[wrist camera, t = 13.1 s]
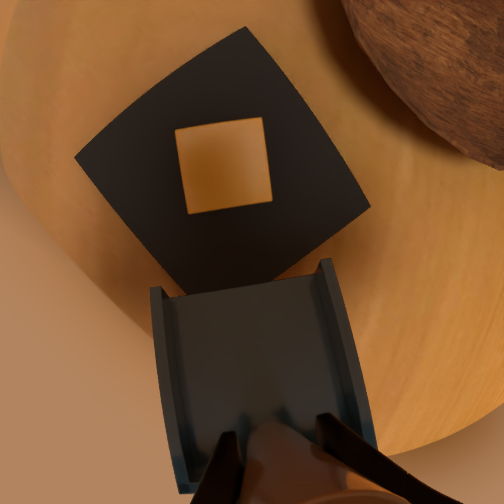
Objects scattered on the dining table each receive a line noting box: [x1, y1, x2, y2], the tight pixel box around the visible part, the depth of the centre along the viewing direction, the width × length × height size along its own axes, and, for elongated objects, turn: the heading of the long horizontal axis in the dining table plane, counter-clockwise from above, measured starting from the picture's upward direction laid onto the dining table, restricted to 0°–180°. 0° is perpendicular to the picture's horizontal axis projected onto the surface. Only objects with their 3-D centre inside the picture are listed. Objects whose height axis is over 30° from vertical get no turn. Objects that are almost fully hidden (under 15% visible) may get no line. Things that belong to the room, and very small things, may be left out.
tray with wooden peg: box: [150, 258, 412, 504], centre depth 9 cm, size 10×9×13 cm
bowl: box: [340, 0, 504, 171], centre depth 14 cm, size 20×22×5 cm
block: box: [175, 117, 273, 214], centre depth 16 cm, size 4×4×4 cm
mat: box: [74, 26, 371, 295], centre depth 18 cm, size 13×14×1 cm
